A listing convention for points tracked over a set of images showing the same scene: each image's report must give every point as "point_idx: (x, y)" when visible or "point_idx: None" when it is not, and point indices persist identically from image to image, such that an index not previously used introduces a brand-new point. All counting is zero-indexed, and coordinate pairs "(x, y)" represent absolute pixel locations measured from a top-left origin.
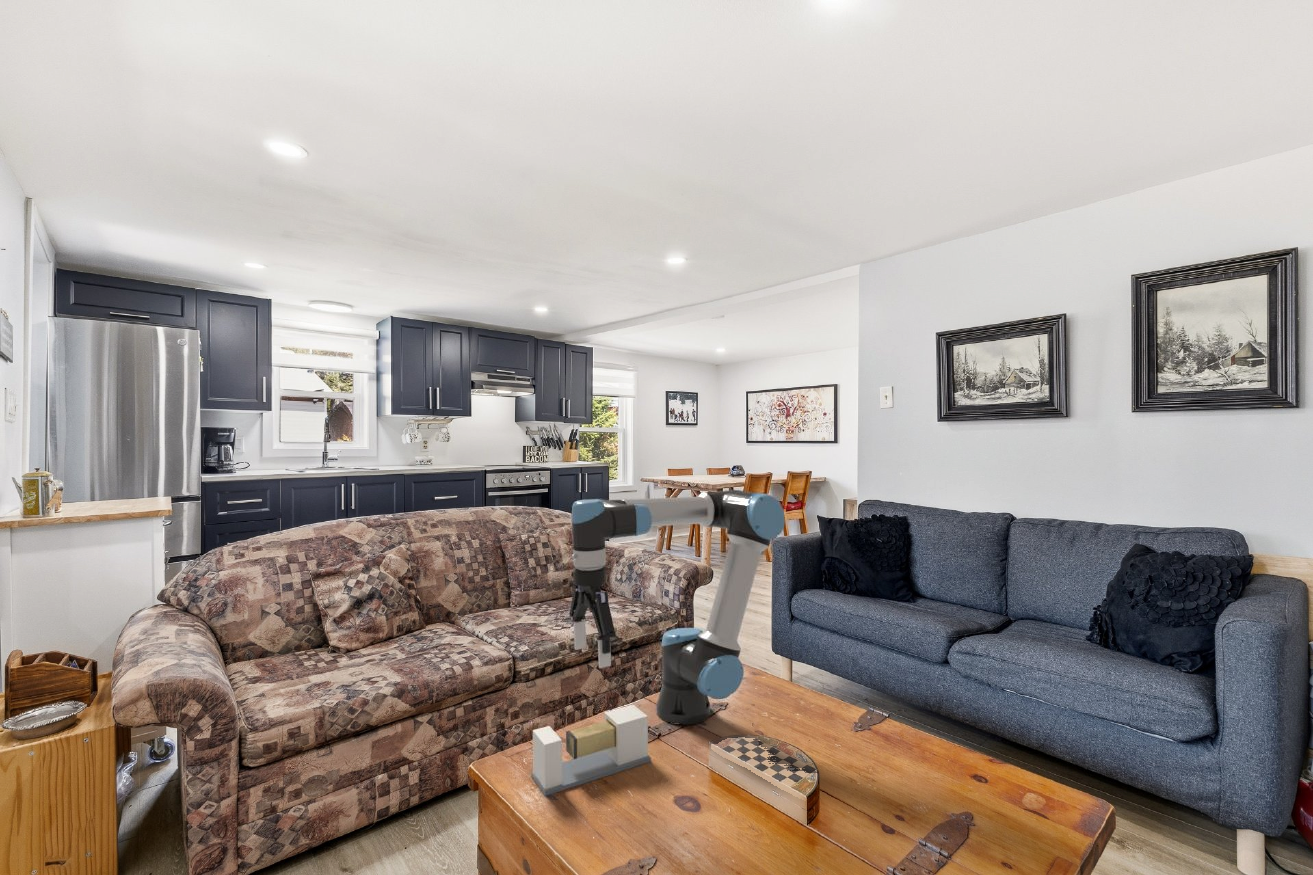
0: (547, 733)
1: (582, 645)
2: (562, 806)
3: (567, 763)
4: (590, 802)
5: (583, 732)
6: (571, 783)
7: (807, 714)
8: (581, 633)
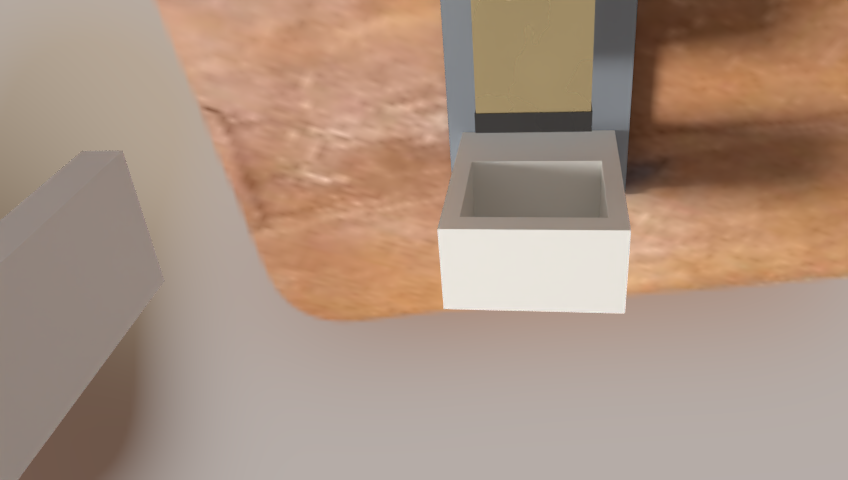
0: (516, 263)
1: (121, 219)
2: (726, 160)
3: (466, 50)
4: (782, 51)
5: (538, 48)
6: (631, 92)
7: None
8: (18, 340)
